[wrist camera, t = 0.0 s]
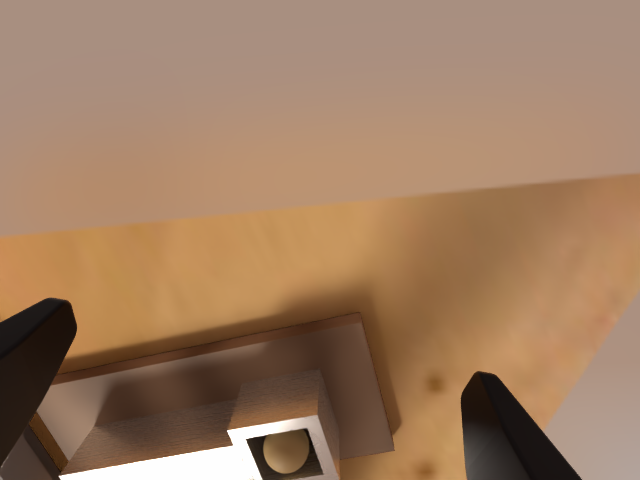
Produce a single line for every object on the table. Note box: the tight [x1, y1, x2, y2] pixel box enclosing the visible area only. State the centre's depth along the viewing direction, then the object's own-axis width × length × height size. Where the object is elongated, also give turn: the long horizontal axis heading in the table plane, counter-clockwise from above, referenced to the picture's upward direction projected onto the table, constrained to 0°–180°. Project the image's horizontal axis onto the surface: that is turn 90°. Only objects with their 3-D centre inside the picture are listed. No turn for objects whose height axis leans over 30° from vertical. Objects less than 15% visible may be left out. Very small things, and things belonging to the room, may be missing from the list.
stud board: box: [37, 312, 395, 473], centre depth 27 cm, size 24×11×6 cm, turn 105°
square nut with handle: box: [59, 368, 340, 480], centre depth 27 cm, size 17×5×4 cm, turn 105°
